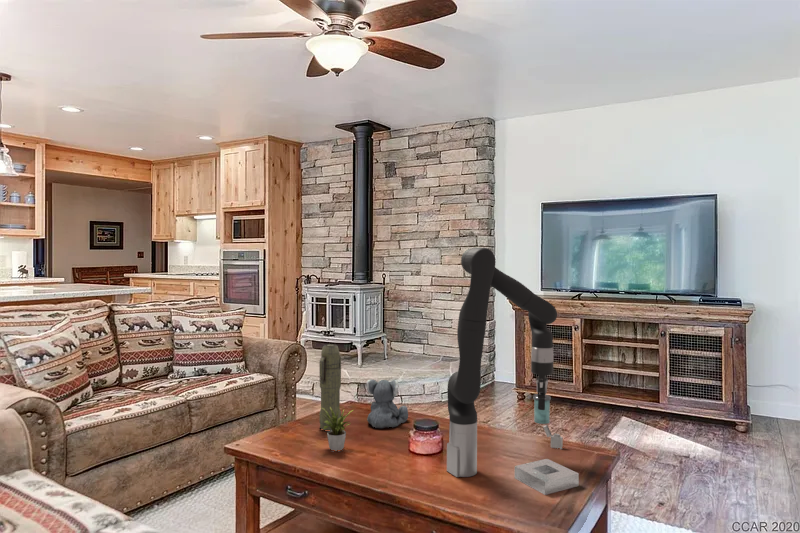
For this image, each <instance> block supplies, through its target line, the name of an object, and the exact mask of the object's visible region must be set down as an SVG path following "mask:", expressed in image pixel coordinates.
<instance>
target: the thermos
mask: <svg viewBox="0 0 800 533" xmlns="http://www.w3.org/2000/svg"><path fill="white" fill-rule="evenodd" d="M320 354H321V356H320V359H319V387H320V411H319V429H320V428H321V429H324V427H325V426H329V425H328V424H327V423H324V422H325V421H329V422H330V423H331V421H330V419H329V418H328V417H327V416H326V415H327V413H326V411H327V412H328V414H329V416H330V418H331V419H332V412H331V409H330V407H331V408H332V410H333V412H334V413H335V416H336V415H337V413H338V416H337V421H338V419H339V418H340V417H341V414H342V411H341V404H340V403H341V402H340V401H341V398H340V397H341V396H340V395H341V394H340V393H341V392H340V389H341V387H342V385H341V384H342V357H341V354H340V349H339V347H338V345H337V344H336V343H334V344H333V343H327V344H324V345H323V346H322V349H321V352H320ZM322 408H323V409H322ZM324 409H325V410H326V411H325V410H324ZM337 410H338V411H337ZM323 413H324V414H323ZM325 414H326V415H325ZM322 415H323V416H322ZM324 416H325V417H326V418H327V419H328V420H327V419H326V418H325V417H324ZM320 424H322V425H320ZM331 424H332V423H331ZM332 425H333V424H332ZM328 428H329V429H330V430H332V429H331V428H330V426H329V427H328ZM328 428H326V429H324V430H329V429H328Z"/></svg>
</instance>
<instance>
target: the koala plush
mask: <svg viewBox="0 0 800 533" xmlns="http://www.w3.org/2000/svg"><path fill="white" fill-rule="evenodd" d="M399 387H400V385H399V381H398V380H397V379H395V380H391V381H389V380H387V379H381V380H379V381H376V380H375V379H368V380H367V381H366V386H365V388H366V391H367V393H368V394H369V395H372V397H373V399H374V401H373V402H371V404H370V413H369V414H368V416H367V420H366V421H367V422H368V424H370V425H371V426H372V427H373V428H374V427H375V428H374V429H384V428H389V427H392V428H396V427H398V426H399V425H401V423H402V424H404V423H406V422H407V420H408V419H409V412H408V406H406V405H401V406H400V407H398V406H397V405H396V404H395V402H394V399H395V398H396V396H397V395H398V394H399Z"/></svg>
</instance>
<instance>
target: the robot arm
mask: <svg viewBox="0 0 800 533" xmlns="http://www.w3.org/2000/svg"><path fill="white" fill-rule="evenodd" d="M460 259H461V260H460V263H461V267H462V269H463V270H464V271H465V272H466V273H467V274H469V275H470V280H469V281H470V282H469V283H470V285H469V289H468V292H467V295H466V297H465V299H464V300H463V303H462V306H461V308H460V311H459V314H458V320H457V322H458V323H457V332H456V333H457V344H458V353H459V364H458V370H457V371H455V372H453V373H452V374H451V376H450V377H449V379H448V381H447V411H448V415H449V427H448V428H449V432H448V433H449V436H448V438H449V439H448V440H449V442H447V443H446V472H448V473H450V474H451V475H453V476H454V477H455V478H459V477H460V478H461V477H462V478H469V477H474V476H475V475H477V473H478V413H477V409H476V405H475V401H476V400H477V399H478V397H479V396H480V392H481V385H482V384H481V379H482V376H481V373H482V372H481V371H482V370H481V369H482V359H483V358H482V356H483V351H484V344H485V335H486V329H487V321H488V320H487V319H488V318H487V317H488V310H489V303H490V302H489V301H490V293H491V288H494V289H495V290H496V291H497V292H498V293H500V294H502V295H503V296H504V297H506V298H507V299H508V300H509V301H510V302H511V303H513V304H514V305H515V306H516V307H518V308H520V310H522V311H526V312H528V315H527V316H528V322H529V326H530V331H531V335H532V338H531V339H532V340H531V343H532V344H531V353H530V355H531V358H530V361H531V362H530V364H531V365H530V369H531V371H530V372H531V373H532V374H534V375H537V377H536V380H535V384H536V392H537V394H538V396H537V397H538V409H539V410H545V399H546V397H545V395H547V393H548V383H549V377H548V376H550V375H553V374H554V346H553V344H554V337H553V336H554V335H553V332H552V331H551V330H549V329H548V327H547V326H548V325H549V324H550V325H551V324H553V323H555V321H556V320H557V318H558V310H557V309H556V308H555V306H554V305H553V303H551V302H549V301H547V300H545V299H544V298H542V297H540V296H538V295H537V294H535V293H534V292H533V291H532V290H530V289H529V288H528V287H527V286H526V285H524V284H523V283H522V282H520V281H518V280H517V279H516V278H514V277H511V276H510V275H508V274H506V273H504V272H503V271H501V270H500V269H499V268H497V267H496V256H495V253H494V252H493V251H492V250H491V249H489V248H486V247H471V248H468V249H466V250H465V251H464V252H463V253H462V255H461V258H460ZM539 394H544V395H539Z"/></svg>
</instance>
